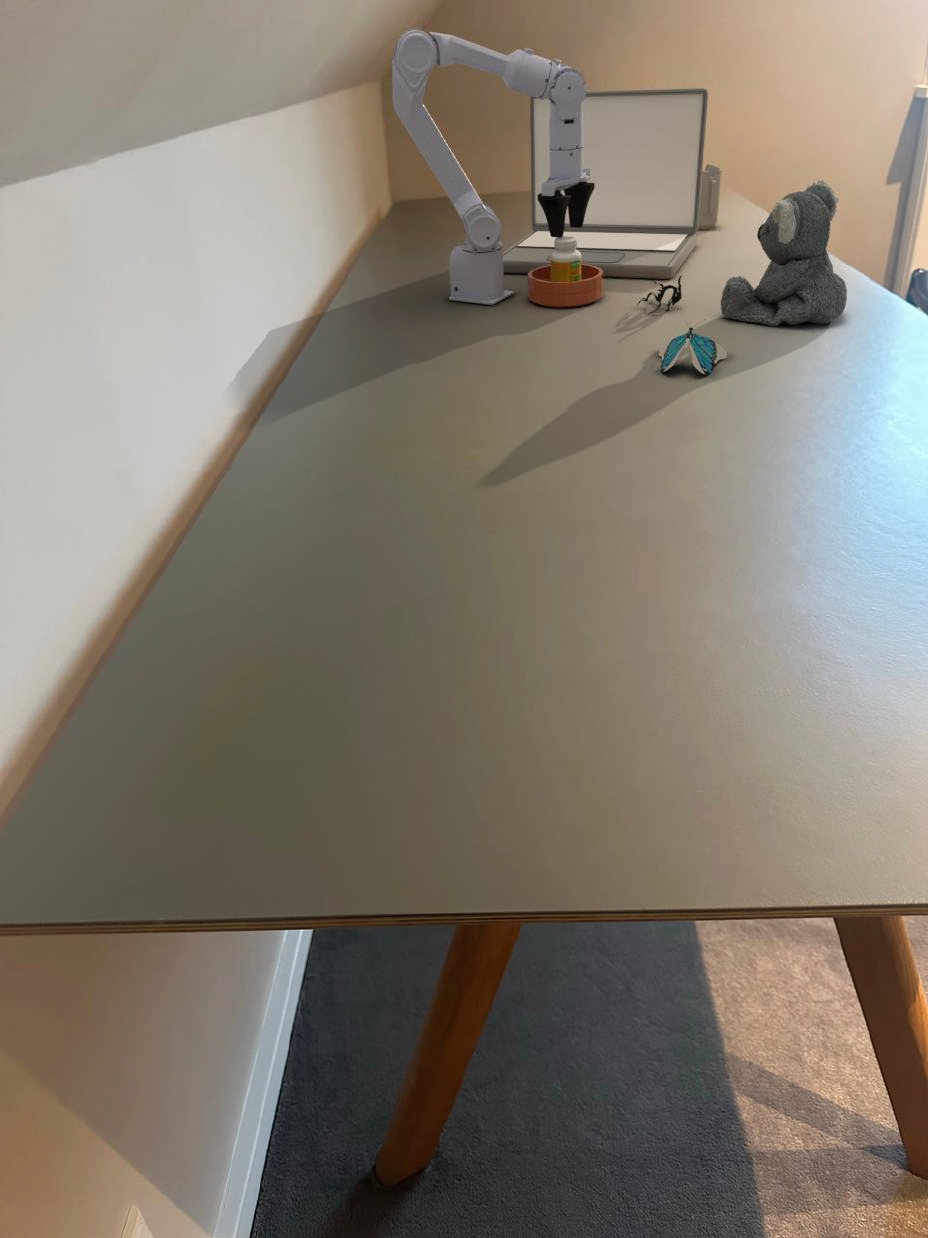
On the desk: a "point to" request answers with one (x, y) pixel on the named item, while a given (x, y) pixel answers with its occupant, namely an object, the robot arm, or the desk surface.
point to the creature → (675, 297)
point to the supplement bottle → (565, 260)
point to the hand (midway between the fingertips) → (566, 231)
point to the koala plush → (792, 265)
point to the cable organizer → (709, 197)
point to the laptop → (625, 182)
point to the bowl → (565, 287)
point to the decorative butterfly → (693, 351)
